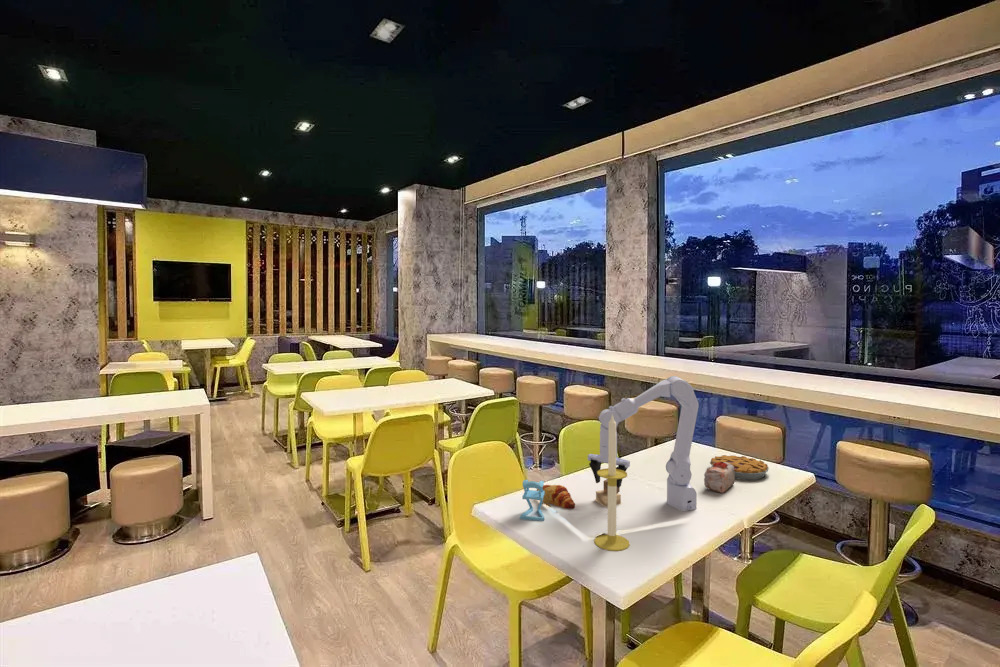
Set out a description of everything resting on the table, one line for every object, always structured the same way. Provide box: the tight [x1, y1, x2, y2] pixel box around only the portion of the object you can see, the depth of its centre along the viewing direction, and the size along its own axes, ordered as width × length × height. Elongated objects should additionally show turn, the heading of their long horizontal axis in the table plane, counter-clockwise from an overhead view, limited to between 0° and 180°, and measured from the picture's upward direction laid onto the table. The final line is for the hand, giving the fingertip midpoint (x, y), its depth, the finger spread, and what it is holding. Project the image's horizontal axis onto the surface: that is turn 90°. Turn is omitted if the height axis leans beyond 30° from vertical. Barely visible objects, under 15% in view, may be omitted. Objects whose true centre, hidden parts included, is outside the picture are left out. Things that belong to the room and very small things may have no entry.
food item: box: [703, 461, 736, 494], centre depth 188 cm, size 14×8×10 cm, turn 139°
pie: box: [709, 454, 770, 481], centre depth 205 cm, size 22×22×5 cm
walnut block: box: [603, 478, 621, 494], centre depth 172 cm, size 4×4×4 cm
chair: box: [519, 479, 545, 522], centre depth 164 cm, size 8×8×12 cm
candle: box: [593, 414, 630, 552], centre depth 143 cm, size 10×10×38 cm
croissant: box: [536, 484, 576, 510], centre depth 174 cm, size 21×10×8 cm, turn 30°
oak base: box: [595, 489, 622, 507], centre depth 171 cm, size 6×6×3 cm
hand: (608, 484), depth 171 cm, fingers open, 7 cm apart
